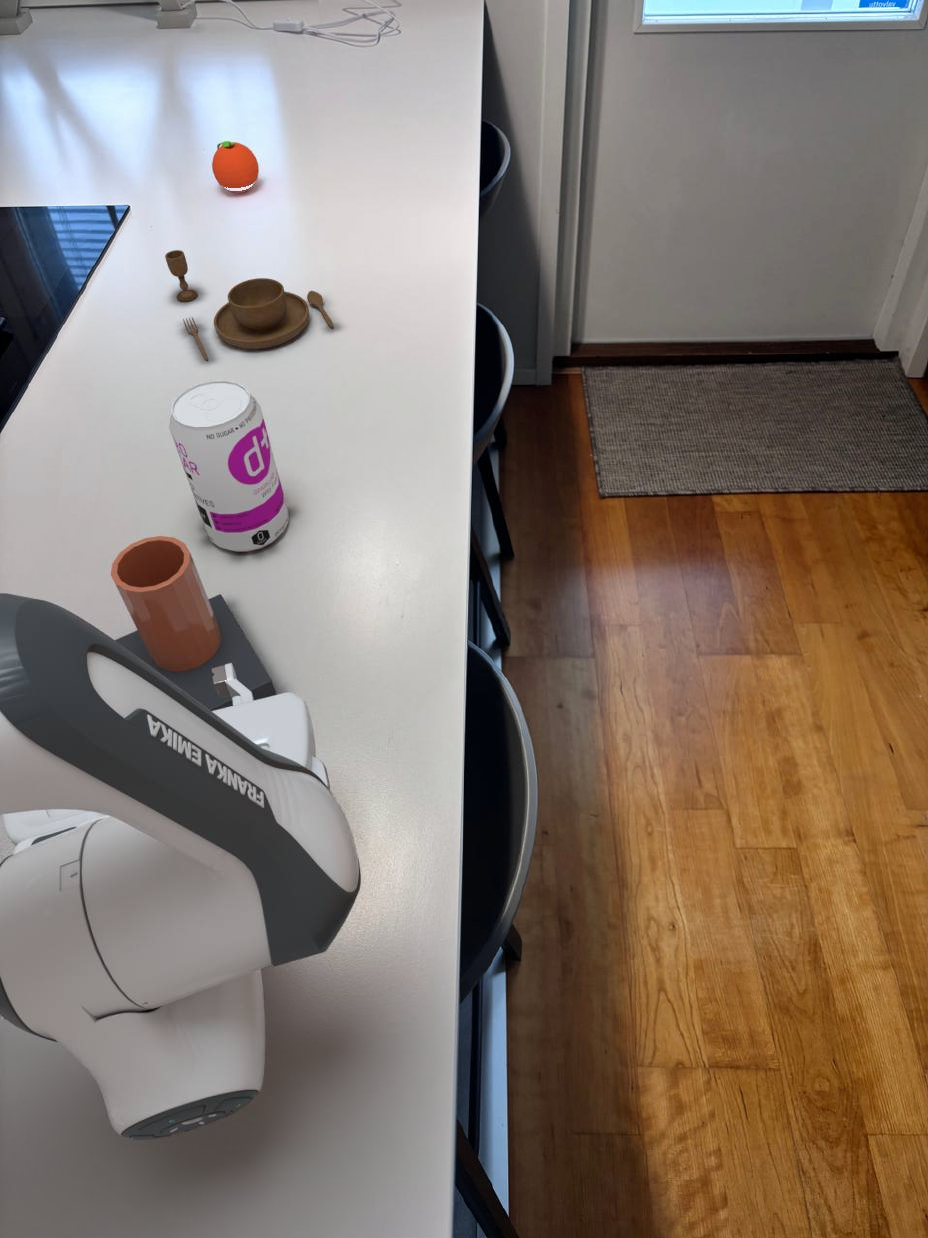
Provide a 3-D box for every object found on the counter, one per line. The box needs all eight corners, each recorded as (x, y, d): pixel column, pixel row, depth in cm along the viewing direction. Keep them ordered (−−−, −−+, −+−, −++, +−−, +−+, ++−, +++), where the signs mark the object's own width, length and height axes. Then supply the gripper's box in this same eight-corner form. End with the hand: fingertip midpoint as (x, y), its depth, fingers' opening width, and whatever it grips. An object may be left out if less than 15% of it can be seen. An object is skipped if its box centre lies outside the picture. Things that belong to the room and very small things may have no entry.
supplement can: (306, 516, 96) (275, 391, 85) (253, 567, 91) (213, 442, 80) (246, 490, 99) (208, 366, 88) (191, 538, 95) (144, 414, 83)
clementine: (206, 189, 148) (193, 142, 142) (243, 174, 151) (232, 127, 145) (234, 204, 144) (222, 156, 138) (272, 188, 147) (261, 141, 141)
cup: (163, 683, 80) (124, 603, 73) (140, 636, 84) (101, 555, 76) (231, 651, 82) (201, 570, 74) (206, 607, 86) (174, 525, 78)
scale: (109, 784, 76) (94, 760, 73) (67, 677, 84) (52, 652, 81) (280, 701, 80) (272, 676, 78) (225, 607, 88) (216, 581, 85)
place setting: (206, 371, 114) (192, 327, 110) (170, 295, 127) (157, 253, 122) (343, 331, 118) (335, 287, 114) (295, 261, 131) (286, 220, 126)
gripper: (327, 783, 58) (293, 623, 67) (-17, 874, 55) (-5, 694, 64) (342, 834, 63) (308, 678, 72) (26, 920, 60) (32, 746, 69)
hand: (158, 686), depth 68 cm, fingers open, 8 cm apart
